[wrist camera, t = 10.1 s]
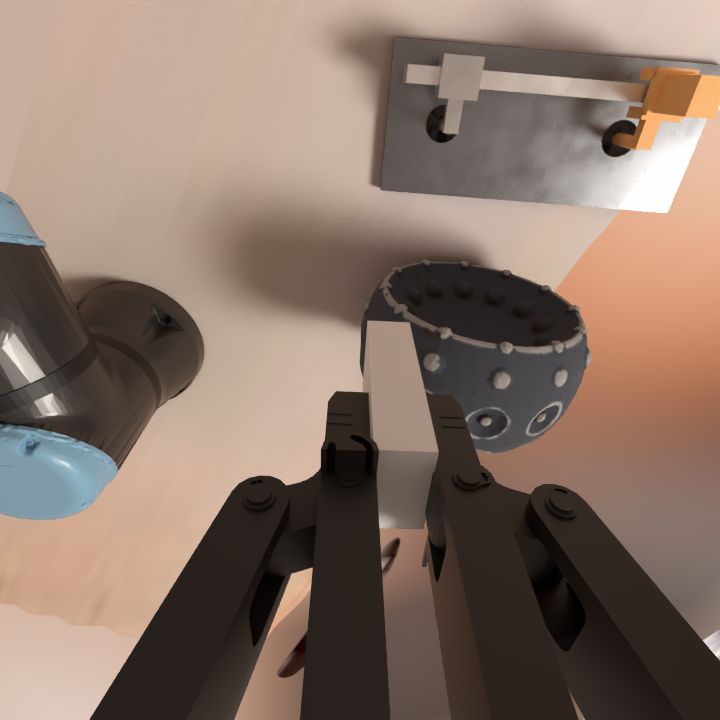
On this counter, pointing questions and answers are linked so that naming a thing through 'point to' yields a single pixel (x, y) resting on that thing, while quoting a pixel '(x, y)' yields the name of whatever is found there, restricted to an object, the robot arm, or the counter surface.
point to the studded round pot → (488, 345)
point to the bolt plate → (533, 134)
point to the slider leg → (670, 102)
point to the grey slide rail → (505, 85)
